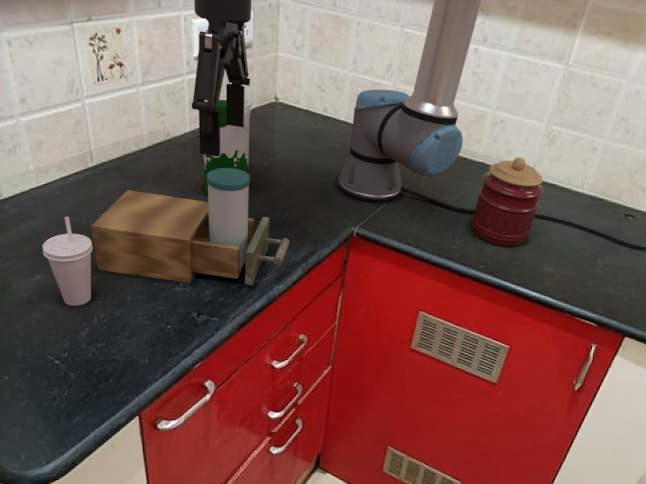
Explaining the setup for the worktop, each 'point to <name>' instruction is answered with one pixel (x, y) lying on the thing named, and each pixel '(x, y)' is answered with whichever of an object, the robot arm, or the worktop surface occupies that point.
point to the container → (229, 208)
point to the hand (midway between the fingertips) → (223, 139)
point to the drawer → (234, 253)
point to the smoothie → (71, 265)
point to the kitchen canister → (507, 203)
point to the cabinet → (149, 235)
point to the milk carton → (230, 145)
